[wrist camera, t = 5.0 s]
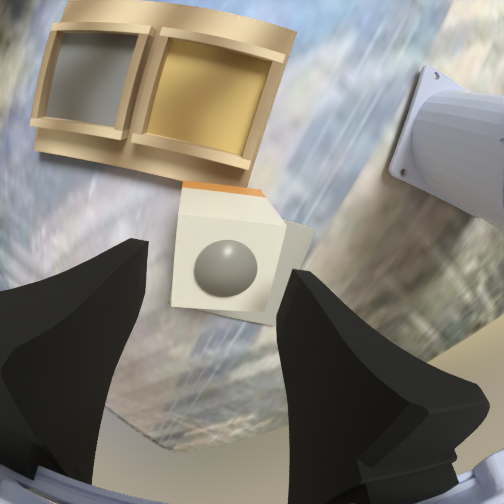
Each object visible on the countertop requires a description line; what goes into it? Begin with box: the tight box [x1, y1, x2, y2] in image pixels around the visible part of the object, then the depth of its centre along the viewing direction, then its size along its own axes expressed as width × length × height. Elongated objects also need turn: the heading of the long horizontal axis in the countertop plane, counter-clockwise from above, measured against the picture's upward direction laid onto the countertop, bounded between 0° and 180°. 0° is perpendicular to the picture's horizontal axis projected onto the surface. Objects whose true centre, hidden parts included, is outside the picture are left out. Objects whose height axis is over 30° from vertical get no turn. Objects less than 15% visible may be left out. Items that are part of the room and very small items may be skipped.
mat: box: [168, 219, 316, 326], centre depth 21 cm, size 8×8×1 cm
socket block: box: [30, 0, 297, 188], centre depth 14 cm, size 14×10×2 cm
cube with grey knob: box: [171, 180, 287, 312], centre depth 14 cm, size 4×4×5 cm
